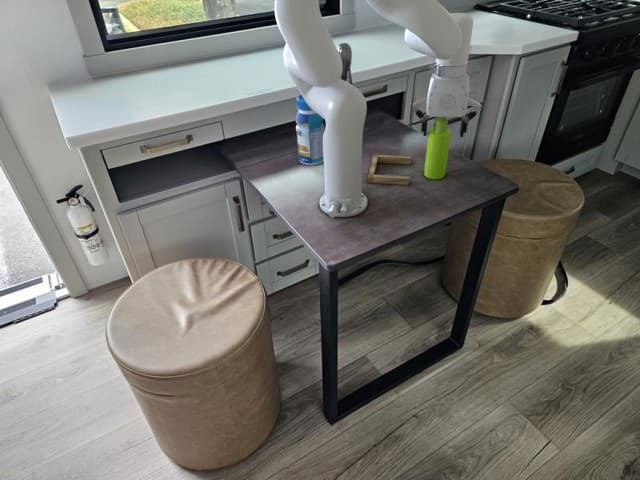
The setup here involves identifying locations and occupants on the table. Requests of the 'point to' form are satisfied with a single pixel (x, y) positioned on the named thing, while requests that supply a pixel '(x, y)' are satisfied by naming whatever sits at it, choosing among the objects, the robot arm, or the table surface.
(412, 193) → the table surface
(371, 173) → the holder
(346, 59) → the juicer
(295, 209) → the table surface
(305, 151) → the blue labeled canister
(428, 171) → the soap dispenser
